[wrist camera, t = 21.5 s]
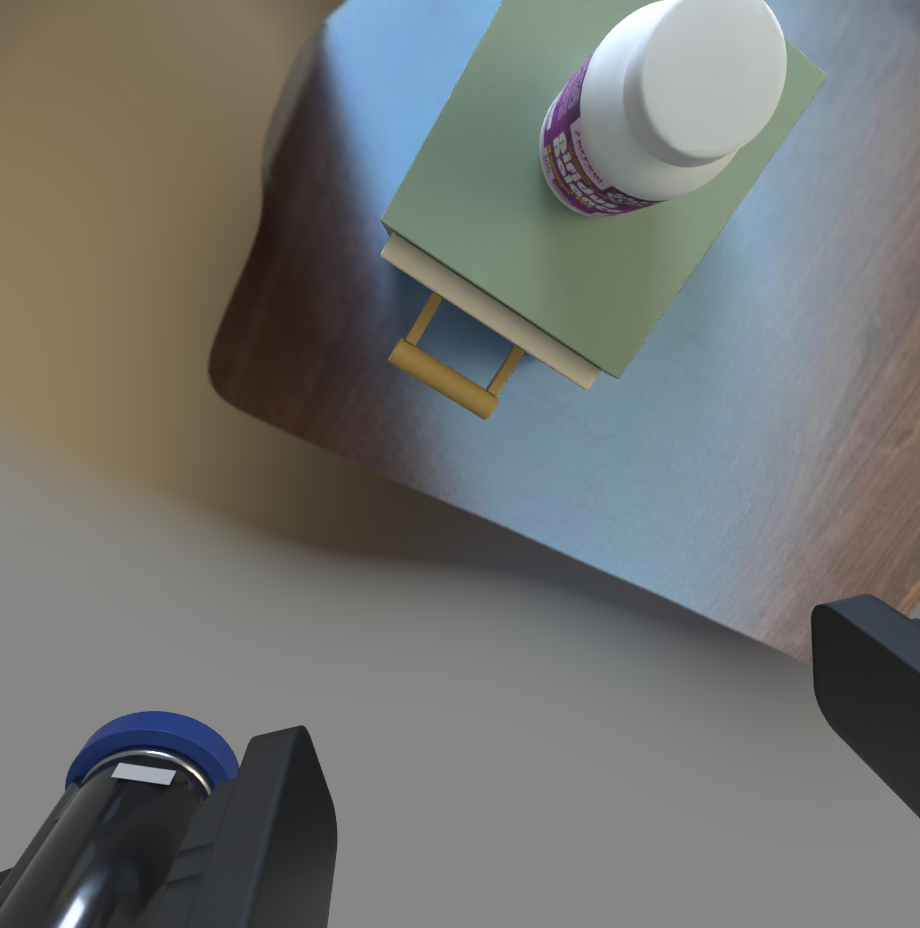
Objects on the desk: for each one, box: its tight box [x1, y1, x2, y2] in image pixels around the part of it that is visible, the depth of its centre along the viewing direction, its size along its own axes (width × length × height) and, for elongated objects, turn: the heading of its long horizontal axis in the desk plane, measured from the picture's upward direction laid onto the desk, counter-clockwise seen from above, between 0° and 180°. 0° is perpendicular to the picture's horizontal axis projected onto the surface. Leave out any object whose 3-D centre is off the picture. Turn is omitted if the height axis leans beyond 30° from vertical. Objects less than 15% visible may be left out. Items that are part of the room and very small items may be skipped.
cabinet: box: [381, 0, 828, 379], centre depth 29 cm, size 15×13×10 cm
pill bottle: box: [539, 0, 787, 218], centre depth 20 cm, size 5×5×10 cm
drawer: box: [380, 232, 601, 420], centre depth 30 cm, size 18×11×8 cm, turn 148°
